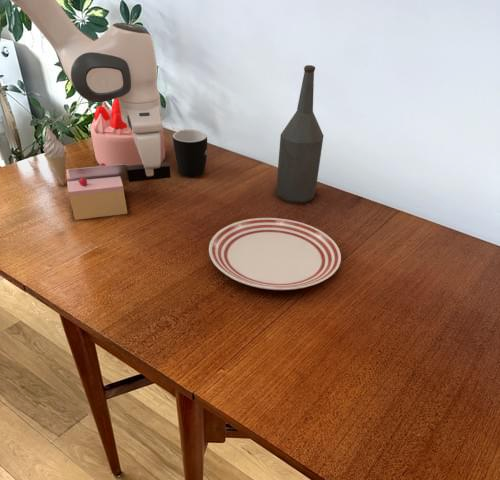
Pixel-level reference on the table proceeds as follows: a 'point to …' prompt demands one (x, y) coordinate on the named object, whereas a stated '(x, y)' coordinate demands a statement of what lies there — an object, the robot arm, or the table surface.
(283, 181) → the bottle
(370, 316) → the table surface
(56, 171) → the ice cream cone
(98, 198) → the cake
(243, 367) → the table surface
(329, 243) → the dinner plate
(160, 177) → the knife
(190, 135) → the mug
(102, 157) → the cake
